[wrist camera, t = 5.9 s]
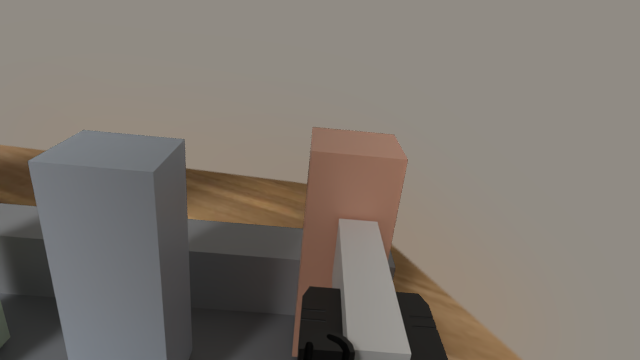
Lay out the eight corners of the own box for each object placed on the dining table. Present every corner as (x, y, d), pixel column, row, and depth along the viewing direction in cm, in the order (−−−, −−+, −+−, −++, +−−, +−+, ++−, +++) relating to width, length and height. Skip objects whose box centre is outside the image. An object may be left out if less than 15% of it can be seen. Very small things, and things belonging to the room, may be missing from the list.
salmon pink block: (291, 356, 19) (311, 150, 15) (295, 310, 21) (312, 126, 17) (367, 361, 19) (407, 159, 15) (361, 315, 22) (394, 134, 18)
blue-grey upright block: (77, 404, 16) (27, 161, 12) (113, 343, 18) (83, 129, 14) (170, 410, 16) (153, 172, 12) (192, 349, 18) (184, 139, 14)
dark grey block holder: (-352, 592, 11) (-475, 480, 9) (4, 277, 24) (-16, 202, 22) (429, 625, 12) (470, 531, 10) (373, 305, 25) (386, 235, 23)
